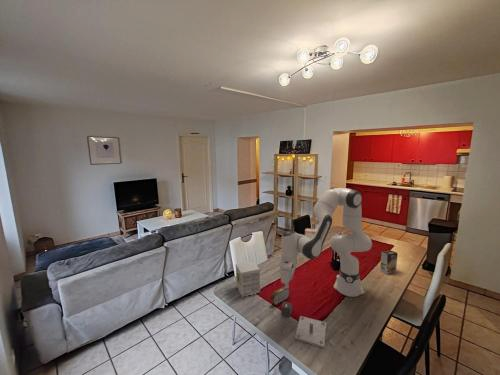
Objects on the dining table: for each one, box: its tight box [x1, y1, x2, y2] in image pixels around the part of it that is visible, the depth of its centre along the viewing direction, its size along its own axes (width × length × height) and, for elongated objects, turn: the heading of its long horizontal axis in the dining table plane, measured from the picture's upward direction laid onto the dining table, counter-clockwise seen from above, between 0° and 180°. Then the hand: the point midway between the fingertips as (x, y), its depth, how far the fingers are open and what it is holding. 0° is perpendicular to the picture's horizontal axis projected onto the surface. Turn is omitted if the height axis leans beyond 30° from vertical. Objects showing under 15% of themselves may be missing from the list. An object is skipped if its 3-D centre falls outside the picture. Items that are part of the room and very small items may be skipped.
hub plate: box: [294, 315, 327, 349], centre depth 115 cm, size 16×14×4 cm
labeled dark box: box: [280, 301, 293, 318], centre depth 129 cm, size 5×5×6 cm
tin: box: [270, 285, 291, 306], centre depth 139 cm, size 15×3×8 cm, turn 127°
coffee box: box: [379, 249, 398, 275], centre depth 170 cm, size 9×6×16 cm
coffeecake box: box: [304, 227, 318, 239], centre depth 214 cm, size 15×7×20 cm, turn 66°
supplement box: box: [235, 260, 261, 298], centre depth 151 cm, size 13×13×18 cm
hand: (289, 283), depth 126 cm, fingers open, 8 cm apart
